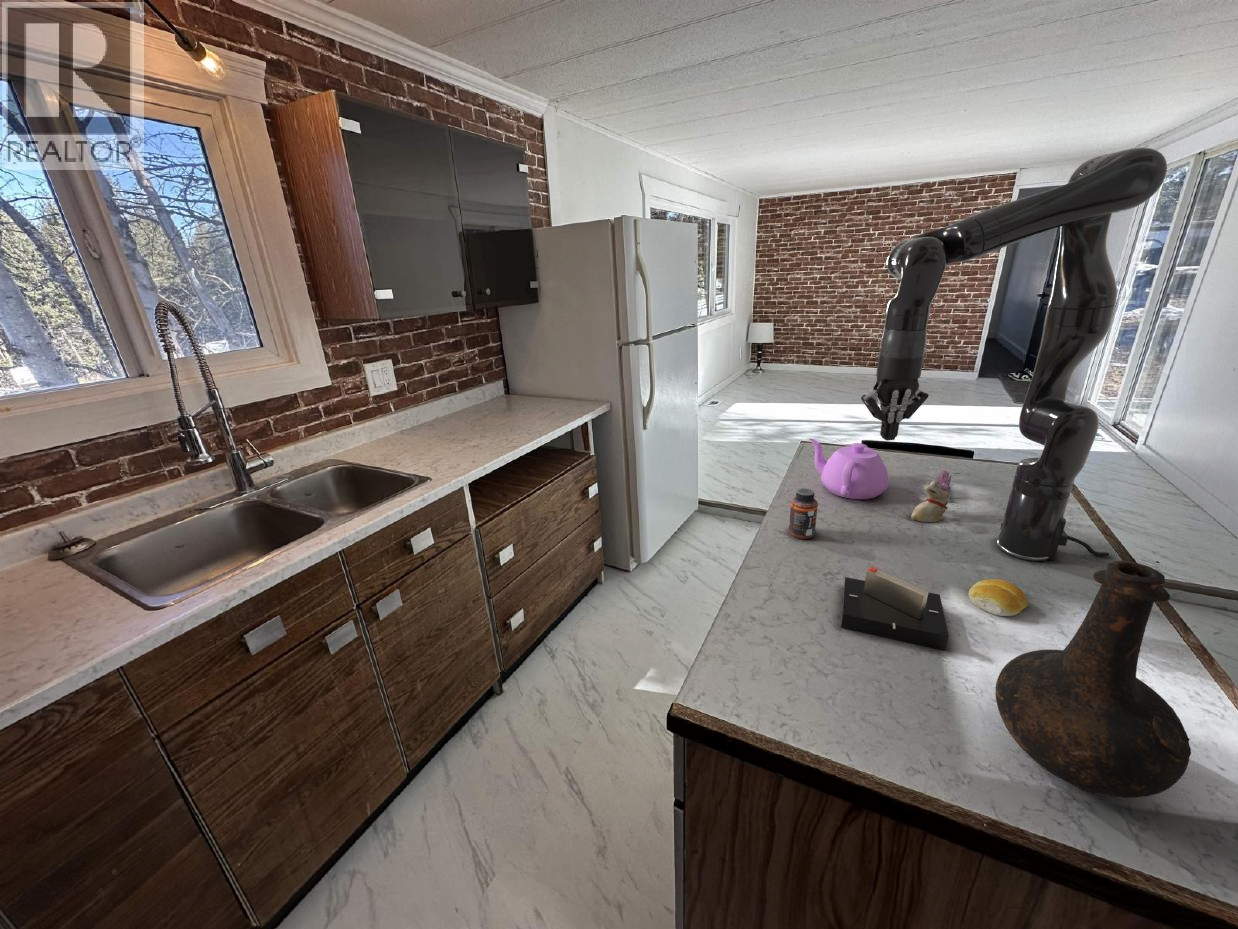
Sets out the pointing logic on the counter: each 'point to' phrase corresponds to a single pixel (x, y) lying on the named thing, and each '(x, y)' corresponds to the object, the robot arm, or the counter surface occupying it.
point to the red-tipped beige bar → (895, 592)
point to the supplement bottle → (803, 514)
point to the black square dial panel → (893, 618)
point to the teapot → (852, 471)
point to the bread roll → (998, 597)
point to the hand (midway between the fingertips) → (888, 439)
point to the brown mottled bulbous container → (1099, 697)
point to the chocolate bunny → (932, 505)
